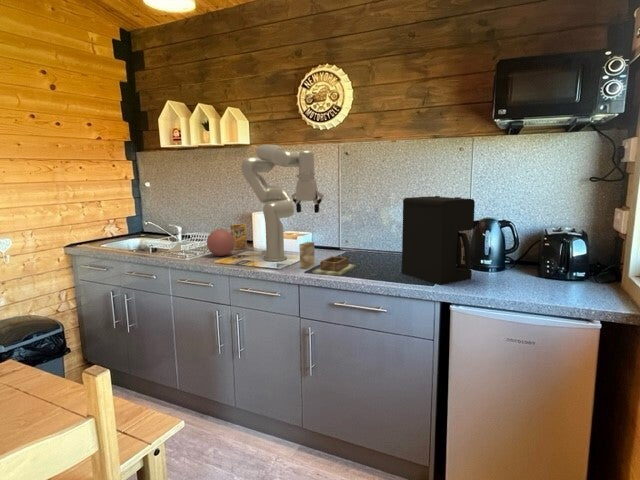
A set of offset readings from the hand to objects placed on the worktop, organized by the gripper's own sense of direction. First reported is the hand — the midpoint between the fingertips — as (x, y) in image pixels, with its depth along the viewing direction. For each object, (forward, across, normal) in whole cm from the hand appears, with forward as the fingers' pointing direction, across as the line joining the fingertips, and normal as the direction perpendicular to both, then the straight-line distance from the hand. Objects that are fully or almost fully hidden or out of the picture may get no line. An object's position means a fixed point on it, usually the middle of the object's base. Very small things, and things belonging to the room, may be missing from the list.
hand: (307, 212), depth 202 cm
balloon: (+26, -60, +8) cm, 66 cm away
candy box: (+26, -64, +28) cm, 74 cm away
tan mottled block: (+27, -1, 0) cm, 27 cm away
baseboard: (+26, -101, +15) cm, 105 cm away
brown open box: (+27, +14, -1) cm, 31 cm away
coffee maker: (+28, +62, +5) cm, 69 cm away
